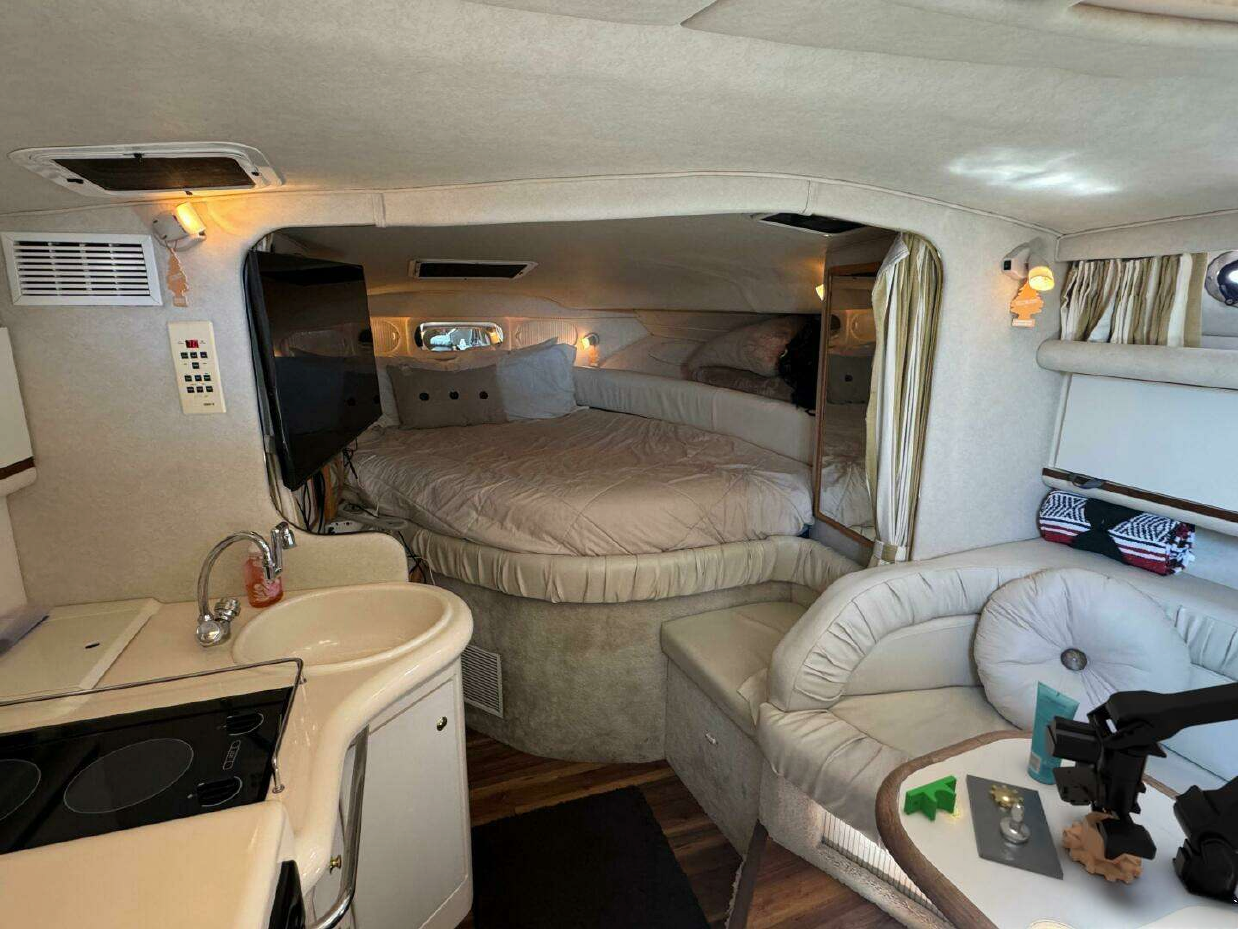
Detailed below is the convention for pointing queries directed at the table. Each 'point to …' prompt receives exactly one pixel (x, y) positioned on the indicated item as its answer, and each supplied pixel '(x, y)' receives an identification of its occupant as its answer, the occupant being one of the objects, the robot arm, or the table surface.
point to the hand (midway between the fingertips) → (1102, 844)
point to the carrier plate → (1001, 846)
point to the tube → (1046, 709)
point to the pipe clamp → (932, 797)
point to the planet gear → (1098, 850)
